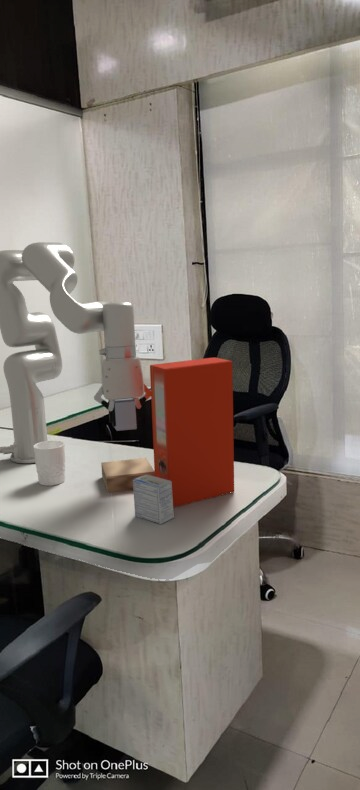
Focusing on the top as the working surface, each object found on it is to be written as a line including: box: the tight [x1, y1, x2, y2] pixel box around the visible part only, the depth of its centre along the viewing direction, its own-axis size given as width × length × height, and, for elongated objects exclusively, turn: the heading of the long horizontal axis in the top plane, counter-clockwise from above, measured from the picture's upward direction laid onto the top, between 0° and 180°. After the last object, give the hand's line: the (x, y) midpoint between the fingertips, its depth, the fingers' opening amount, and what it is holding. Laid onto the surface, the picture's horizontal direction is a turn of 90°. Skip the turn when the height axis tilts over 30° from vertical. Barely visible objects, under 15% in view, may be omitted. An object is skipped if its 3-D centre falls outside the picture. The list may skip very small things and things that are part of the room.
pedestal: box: [100, 457, 155, 493], centre depth 157 cm, size 12×12×4 cm
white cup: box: [33, 440, 66, 487], centre depth 159 cm, size 8×8×10 cm
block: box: [113, 399, 138, 432], centre depth 153 cm, size 5×5×7 cm
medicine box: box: [132, 475, 175, 525], centre depth 133 cm, size 8×4×9 cm, turn 48°
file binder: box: [149, 357, 235, 508], centre depth 143 cm, size 8×17×32 cm, turn 119°
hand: (125, 423), depth 154 cm, fingers closed on block, 5 cm apart
